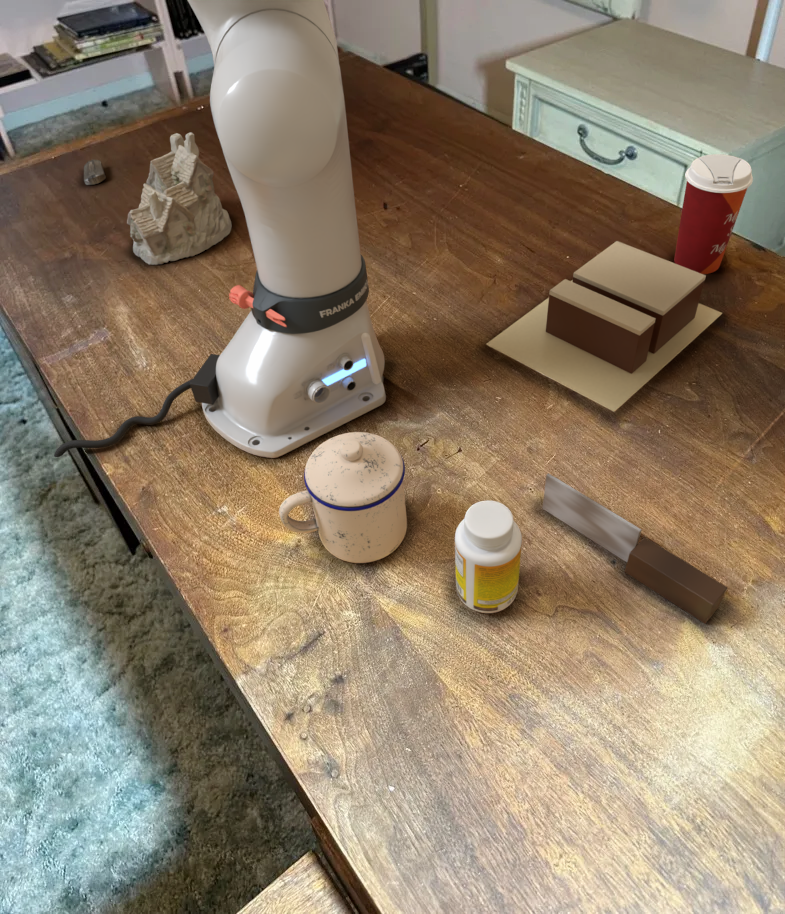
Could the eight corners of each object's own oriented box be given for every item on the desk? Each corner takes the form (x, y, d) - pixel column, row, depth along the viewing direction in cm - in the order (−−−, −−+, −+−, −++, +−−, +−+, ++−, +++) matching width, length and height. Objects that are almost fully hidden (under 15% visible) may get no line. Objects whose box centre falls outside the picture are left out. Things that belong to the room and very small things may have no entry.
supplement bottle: (530, 586, 69) (538, 515, 62) (491, 627, 66) (495, 558, 59) (481, 553, 72) (483, 482, 64) (442, 592, 69) (440, 521, 62)
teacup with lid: (392, 483, 79) (384, 399, 70) (422, 550, 72) (417, 467, 64) (279, 516, 77) (256, 434, 68) (300, 588, 70) (278, 508, 62)
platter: (613, 418, 83) (614, 411, 82) (485, 350, 92) (485, 344, 92) (720, 319, 93) (722, 312, 93) (596, 267, 103) (597, 261, 102)
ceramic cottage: (204, 193, 124) (175, 101, 112) (248, 238, 114) (221, 143, 103) (114, 230, 120) (74, 139, 108) (152, 281, 110) (112, 187, 99)
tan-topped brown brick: (631, 374, 86) (640, 331, 82) (545, 331, 92) (549, 290, 88) (646, 361, 87) (656, 318, 83) (560, 320, 94) (565, 278, 89)
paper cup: (728, 286, 98) (759, 183, 88) (666, 283, 99) (689, 180, 89) (723, 253, 103) (752, 152, 93) (664, 250, 104) (685, 150, 94)
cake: (653, 354, 88) (663, 311, 84) (568, 314, 94) (573, 272, 90) (694, 318, 92) (706, 275, 88) (609, 282, 98) (616, 240, 94)
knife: (719, 606, 66) (734, 573, 63) (705, 624, 65) (719, 591, 62) (550, 500, 76) (555, 466, 72) (535, 514, 75) (539, 481, 71)
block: (104, 167, 133) (100, 157, 132) (107, 182, 129) (103, 172, 128) (83, 172, 133) (79, 162, 131) (85, 187, 129) (81, 177, 127)
